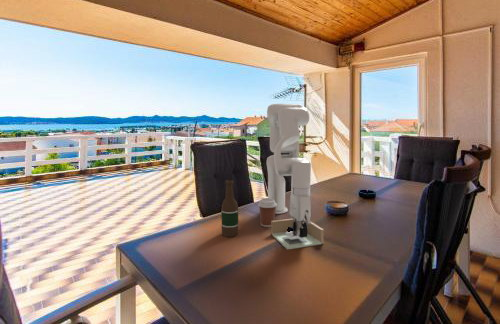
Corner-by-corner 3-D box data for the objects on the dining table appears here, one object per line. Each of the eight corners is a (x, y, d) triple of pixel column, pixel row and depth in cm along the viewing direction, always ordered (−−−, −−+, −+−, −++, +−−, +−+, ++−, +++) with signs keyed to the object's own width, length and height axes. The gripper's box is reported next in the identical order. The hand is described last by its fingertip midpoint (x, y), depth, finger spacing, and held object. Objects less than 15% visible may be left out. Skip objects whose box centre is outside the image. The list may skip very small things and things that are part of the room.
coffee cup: (254, 224, 130) (254, 200, 128) (266, 219, 136) (266, 196, 135) (268, 229, 123) (268, 203, 122) (280, 224, 130) (280, 200, 128)
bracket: (298, 233, 112) (298, 219, 112) (304, 237, 108) (304, 223, 107) (285, 234, 111) (285, 220, 110) (290, 239, 106) (290, 225, 105)
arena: (271, 234, 118) (271, 221, 117) (303, 229, 122) (303, 217, 122) (287, 249, 102) (287, 234, 102) (323, 243, 107) (323, 229, 107)
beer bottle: (241, 231, 120) (241, 179, 118) (235, 238, 113) (234, 182, 110) (225, 229, 123) (224, 178, 120) (218, 236, 116) (217, 181, 113)
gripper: (283, 187, 115) (282, 228, 117) (302, 196, 99) (301, 243, 101) (298, 186, 117) (298, 226, 119) (320, 195, 101) (319, 241, 103)
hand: (299, 233), depth 110 cm, fingers closed on bracket, 5 cm apart
